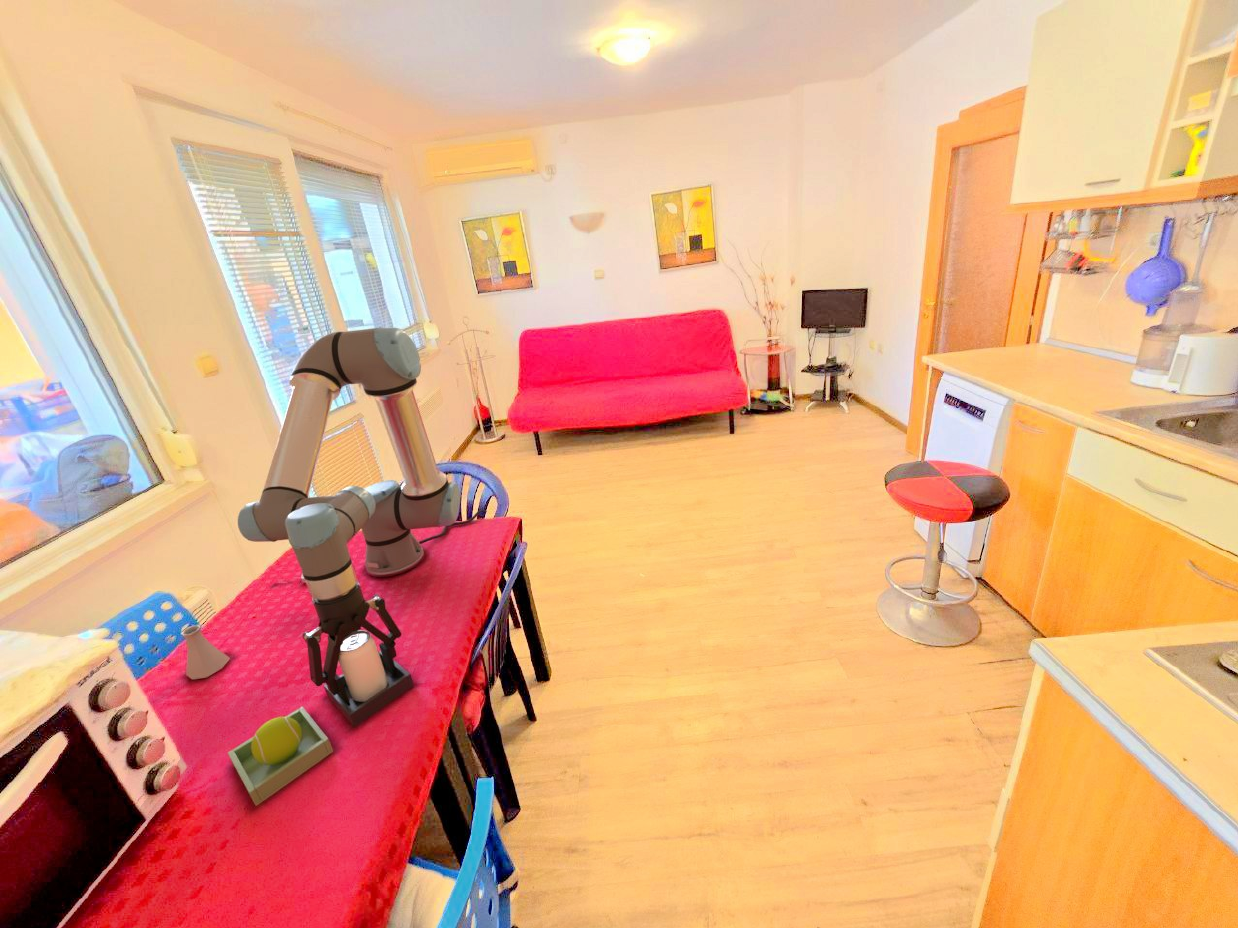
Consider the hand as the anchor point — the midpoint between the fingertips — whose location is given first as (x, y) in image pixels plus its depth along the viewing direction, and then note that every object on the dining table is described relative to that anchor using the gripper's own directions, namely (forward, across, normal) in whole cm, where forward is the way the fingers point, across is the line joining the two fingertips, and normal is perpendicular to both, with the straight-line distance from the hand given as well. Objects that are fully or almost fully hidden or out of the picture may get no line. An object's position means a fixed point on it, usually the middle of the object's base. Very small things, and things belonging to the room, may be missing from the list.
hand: (369, 686), depth 97 cm
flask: (+1, +18, -37) cm, 41 cm away
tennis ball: (+1, +16, +2) cm, 16 cm away
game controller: (+1, -7, -57) cm, 57 cm away
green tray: (+1, +16, +2) cm, 16 cm away
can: (+1, 0, 0) cm, 1 cm away
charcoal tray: (+1, 0, 0) cm, 1 cm away
